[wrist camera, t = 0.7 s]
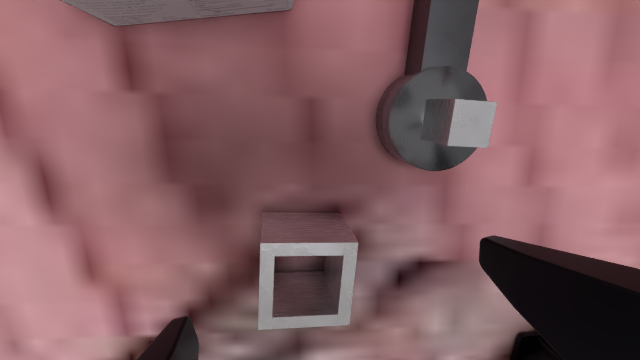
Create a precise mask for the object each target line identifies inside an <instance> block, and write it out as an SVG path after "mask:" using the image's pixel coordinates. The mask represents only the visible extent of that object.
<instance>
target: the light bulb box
mask: <svg viewBox="0 0 640 360" xmlns="http://www.w3.org/2000/svg"><path fill="white" fill-rule="evenodd" d="M61 1H63V2H65V3H67V4H69V5H71V6H73V7H76V8H78V9H80V10H82V11H84V12H86V13H88V14H90V15H92V16H94V17H96V18H98V19H100V20H102V21H104V22H106V23H108V24H110V25H112V26H123V25H135V24H145V23H156V22H166V21H176V20H185V19H197V18H208V17H219V16H230V15H240V14H250V13H261V12H272V11H283V10H291V9H292V8H293V3H294V0H61Z"/></svg>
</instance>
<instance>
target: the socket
mask: <svg viewBox="0 0 640 360" xmlns="http://www.w3.org/2000/svg"><path fill="white" fill-rule="evenodd" d="M357 251H358V241H357V240H356V238H355V237H354V235H353V233H352V232H351V230H350V229H349V227H348V225H347V224H346V222H345V221H344V219H343V218H342V216H341V214H340V213H322V212H262V227H261V242H260V279H259V317H258V330H264V329H283V328H301V327H320V326H339V325H349V323H350V314H351V305H352V296H353V287H354V278H355V269H356V260H357ZM275 256H325V266H324V271H307V272H274V259H275Z"/></svg>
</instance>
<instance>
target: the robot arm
mask: <svg viewBox="0 0 640 360" xmlns="http://www.w3.org/2000/svg"><path fill="white" fill-rule="evenodd" d="M479 262H480V265H481V267H482V269H483V270H484V271H485V272H486V274H487V275H488V276H489V277H490V279H491V280H492V281H493V282H494V283H495V285H496V286H497V287H498V288H499V290H500V291H501V292H502V293H503V295H504V296H505V297H506V298H507V300H508V301H509V302H510V303H511V304H512V306H513V307H514V308H515V309H516V310H517V311H518V312H519V313H520V314H521V315H522V316H523V317H524V318H525V320H526V321H527V322H528V323H529V324H530V325H531V326H532V327H533V328H534V329H535V330H536V331H537V332H532V333H521V334H519V335H518V337H517V340H516V343H515V347H514V351H513V355H512V358H511V360H640V269H637V268H633V267H629V266H624V265H620V264H616V263H611V262H607V261H603V260H598V259H594V258H590V257H585V256H581V255H577V254H572V253H568V252H564V251H559V250H555V249H551V248H546V247H542V246H538V245H533V244H529V243H525V242H521V241H516V240H512V239H508V238H503V237H499V236H489V237H485V238H482V239H481V241H480V251H479ZM198 353H199V343H198V338H197V335H196V332H195V329H194V326H193V323H192V320H191V318H190V317H189V316H183V317H180V318H176V319H173V320H172V321H171V322H170V323H169V324H168V325H167V326H166V327H165V328H164V329H163V331H162V332H161V333H160V334H159V335H158V336H157V337H156V338H155V339H154V341H153V342H152V343H151V344H150V345H149V346H148V347H147V348H146V349H145V351H144V352H143V353H142V354H141V355H140V356H139V357H138V358H137V359H136V360H198Z"/></svg>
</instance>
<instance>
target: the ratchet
mask: <svg viewBox="0 0 640 360" xmlns="http://www.w3.org/2000/svg"><path fill="white" fill-rule="evenodd" d="M478 2H479V0H414V7H413V15H412V23H411V30H410V38H409V45H408V53H407V61H406V68H405V75H403V76H401V77H400V78H398V79H397V80H396V81H394V82H393V83H392V84H391V85H390V86H389V87H388V88H387V90H386V91H385V92H384V94H383V96H382V98H381V100H380V102H379V105H378V108H377V114H376V128H377V133H378V136H379V139H380V141H381V143H382V145H383V146H384V147H385V149H386V150H387V151H388V152H389V153H390V154H391V155H393V156H394V157H396V158H398V159H400V160H402V161H404V162H407V163H409V164H411V165H414V166H416V167H418V168H421V169H424V170H428V171H441V170H446V169H449V168H452V167H454V166H457V165H458V164H460V163H462V162H463V161H464V160H466V159H467V158H468V157H469V156H470V155H471V154H472V153H473V152H474V151H475V149H476V148H477V147H481V148H488V144H489V140H490V135H491V130H492V125H493V120H494V115H495V110H496V105H497V102H487V99H486V96H485V93H484V90H483V89H482V87H481V85H480V84H479V82H478V81H477V80H476V79H475V78H474V77H473V76H472V75H471V74H469V73H468V72H466V70H467V65H468V59H469V53H470V48H471V42H472V36H473V31H474V25H475V19H476V14H477V8H478Z"/></svg>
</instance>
